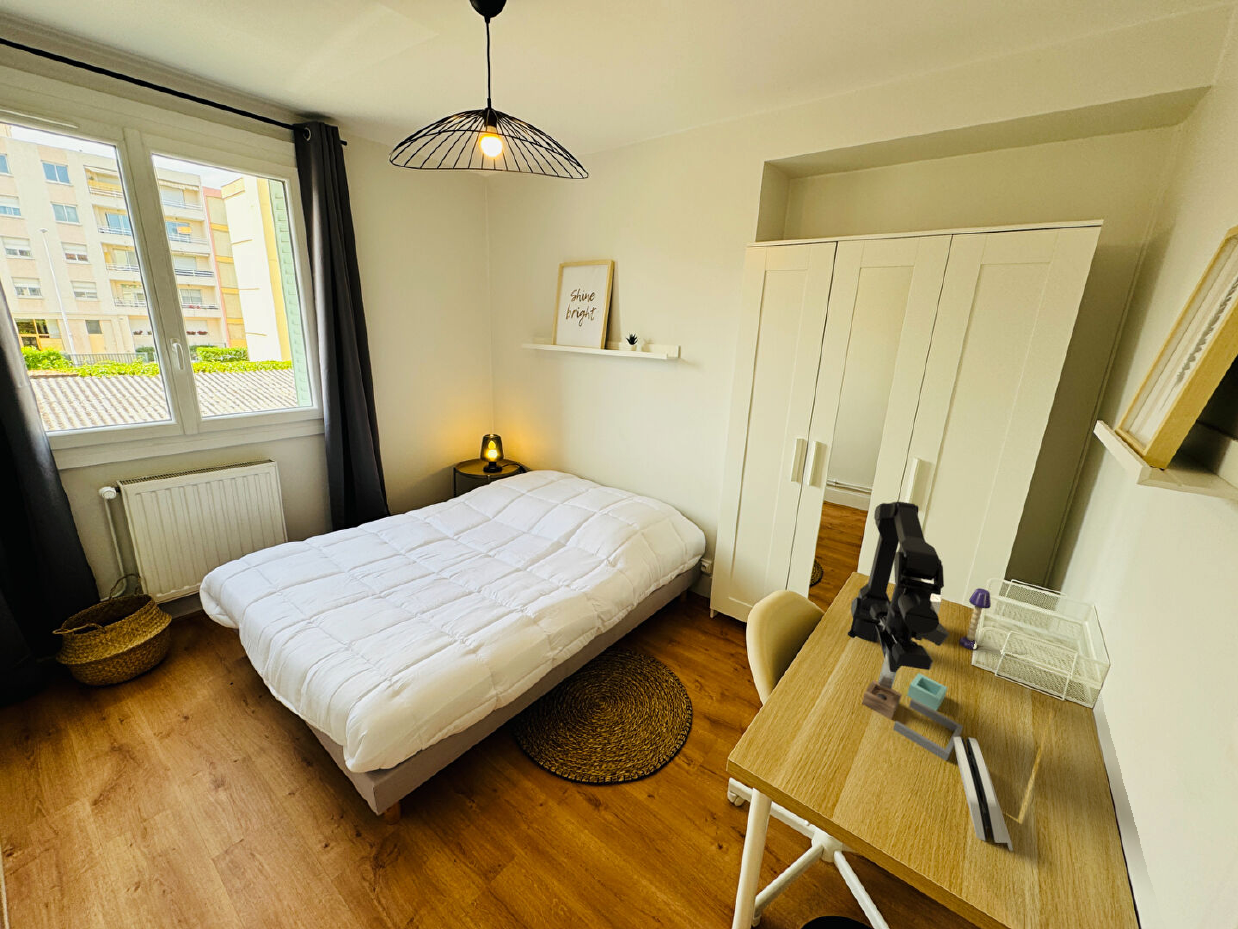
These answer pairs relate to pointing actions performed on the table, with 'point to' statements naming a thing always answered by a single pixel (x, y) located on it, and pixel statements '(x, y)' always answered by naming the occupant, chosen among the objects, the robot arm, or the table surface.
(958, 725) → the grey u-shaped bracket
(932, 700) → the teal block
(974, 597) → the toy lamp
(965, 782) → the grey slotted housing
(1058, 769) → the table surface
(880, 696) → the walnut block
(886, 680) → the metal cylinder peg
